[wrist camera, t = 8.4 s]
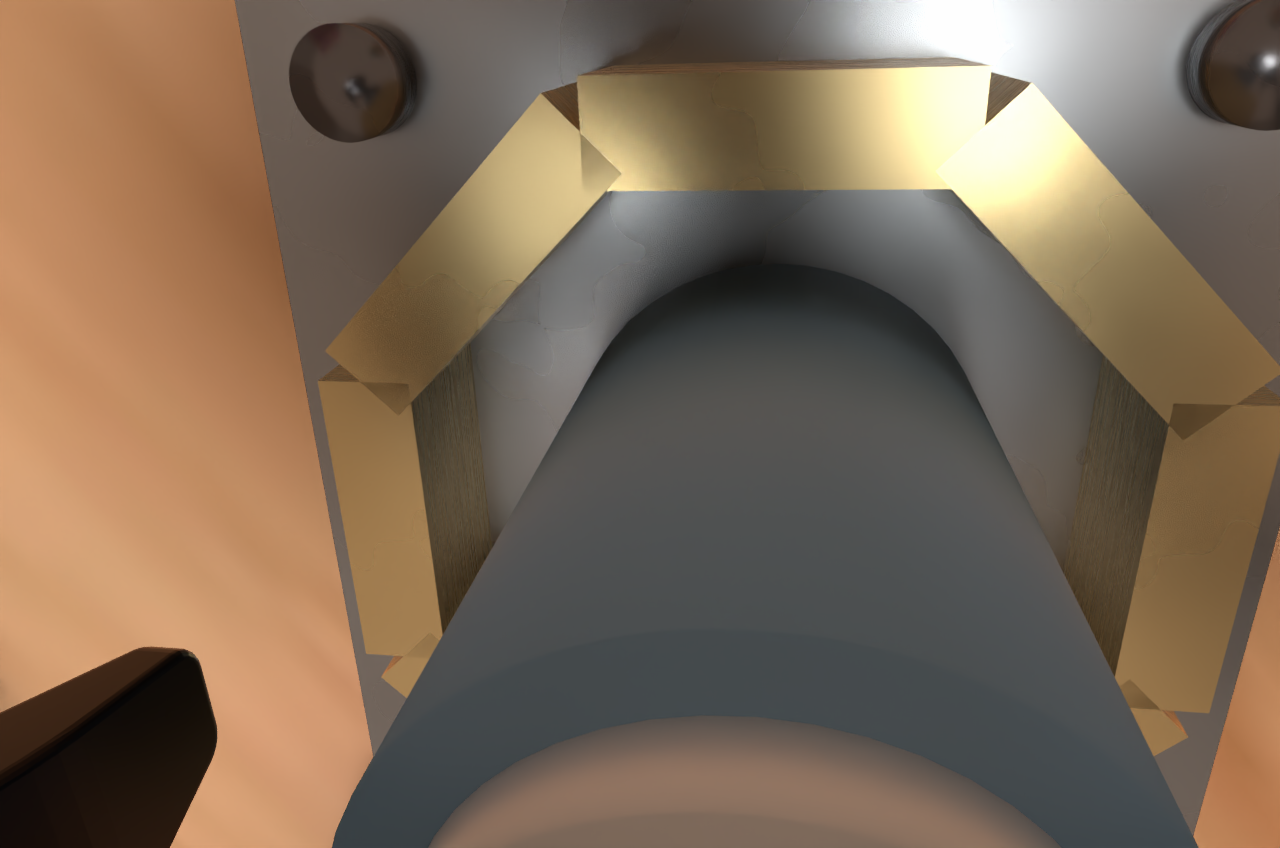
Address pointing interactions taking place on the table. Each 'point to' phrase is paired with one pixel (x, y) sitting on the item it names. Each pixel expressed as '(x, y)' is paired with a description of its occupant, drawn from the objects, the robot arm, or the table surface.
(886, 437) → the blue cylinder
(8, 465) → the table surface
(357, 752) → the table surface
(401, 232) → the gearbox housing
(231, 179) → the table surface
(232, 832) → the table surface
